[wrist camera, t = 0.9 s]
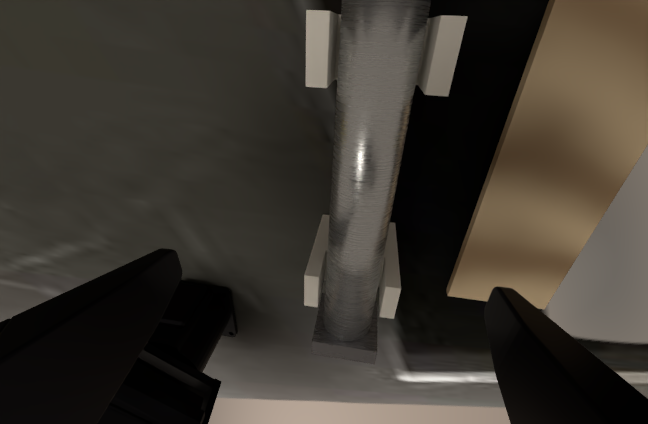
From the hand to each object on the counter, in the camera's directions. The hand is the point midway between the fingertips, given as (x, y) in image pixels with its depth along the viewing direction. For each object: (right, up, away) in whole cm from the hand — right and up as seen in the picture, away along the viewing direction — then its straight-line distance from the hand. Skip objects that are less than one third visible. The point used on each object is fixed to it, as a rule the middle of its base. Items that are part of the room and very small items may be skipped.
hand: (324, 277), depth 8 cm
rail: (+2, +4, +7) cm, 8 cm away
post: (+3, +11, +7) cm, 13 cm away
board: (+13, +4, +9) cm, 17 cm away
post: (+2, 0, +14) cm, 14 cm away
